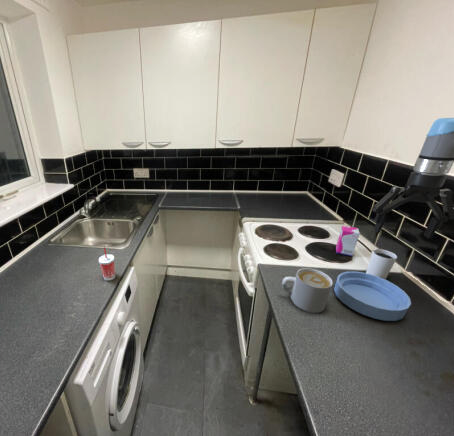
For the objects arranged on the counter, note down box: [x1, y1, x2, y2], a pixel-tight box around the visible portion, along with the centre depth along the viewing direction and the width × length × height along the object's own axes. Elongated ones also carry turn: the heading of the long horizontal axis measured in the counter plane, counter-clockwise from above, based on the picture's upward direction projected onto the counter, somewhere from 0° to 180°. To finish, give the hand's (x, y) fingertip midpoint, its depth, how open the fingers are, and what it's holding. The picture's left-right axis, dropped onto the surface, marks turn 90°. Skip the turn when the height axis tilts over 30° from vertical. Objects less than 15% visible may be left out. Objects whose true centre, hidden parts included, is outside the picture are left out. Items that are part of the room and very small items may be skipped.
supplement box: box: [335, 225, 361, 257], centre depth 101 cm, size 6×6×12 cm
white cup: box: [365, 248, 398, 280], centre depth 86 cm, size 7×7×10 cm
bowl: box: [333, 271, 412, 322], centre depth 76 cm, size 18×18×5 cm
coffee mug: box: [281, 267, 334, 314], centre depth 76 cm, size 13×10×10 cm
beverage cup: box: [98, 247, 116, 282], centre depth 91 cm, size 6×6×14 cm
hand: (401, 234), depth 79 cm, fingers open, 13 cm apart
